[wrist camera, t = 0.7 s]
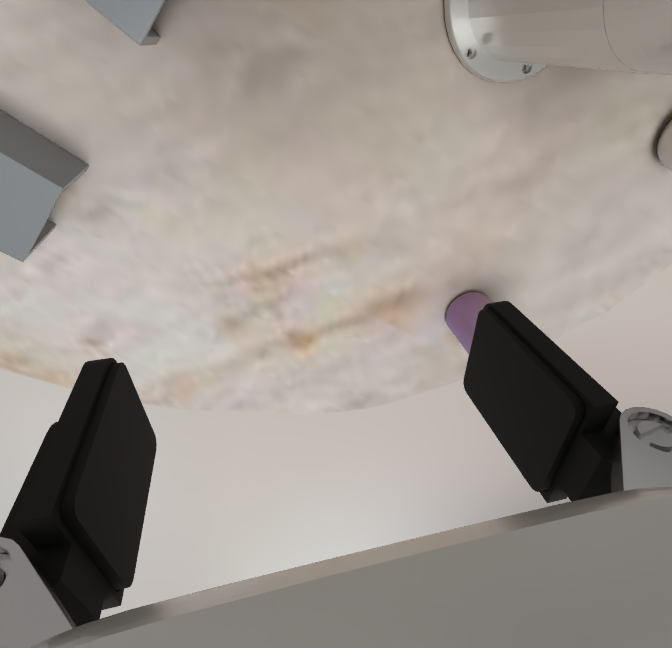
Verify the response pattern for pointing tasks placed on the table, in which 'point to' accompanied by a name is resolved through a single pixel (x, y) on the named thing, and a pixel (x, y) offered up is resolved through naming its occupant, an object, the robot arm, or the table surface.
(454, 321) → the beverage can
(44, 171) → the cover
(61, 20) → the table surface
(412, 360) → the table surface
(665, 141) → the plastic bottle
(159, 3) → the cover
